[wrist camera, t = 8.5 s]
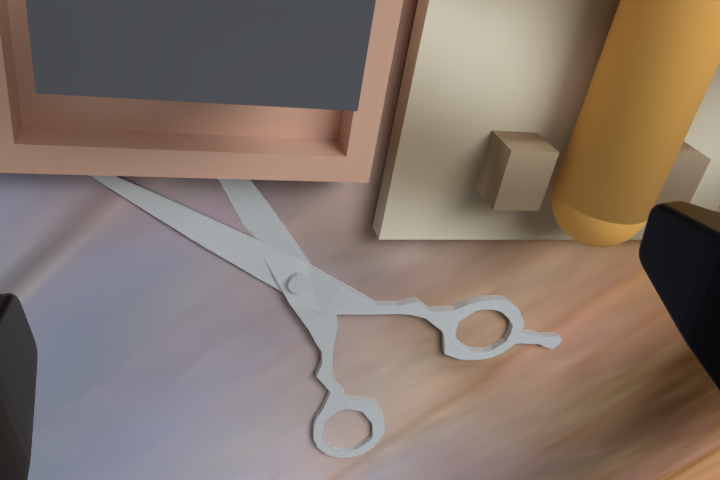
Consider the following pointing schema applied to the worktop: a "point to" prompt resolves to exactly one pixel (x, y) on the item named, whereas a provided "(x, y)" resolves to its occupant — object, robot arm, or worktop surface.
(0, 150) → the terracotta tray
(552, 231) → the cradle board
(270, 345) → the worktop surface
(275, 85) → the dark gray horseshoe block
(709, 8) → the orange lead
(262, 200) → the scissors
